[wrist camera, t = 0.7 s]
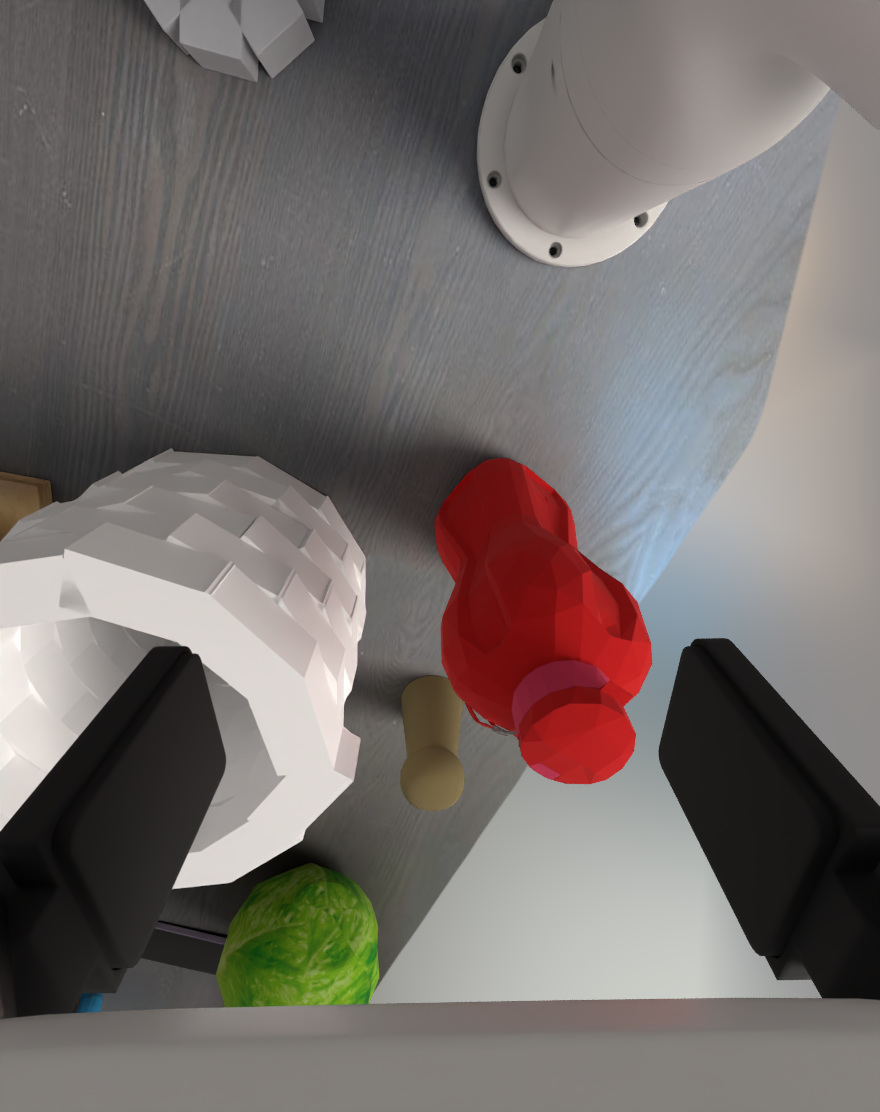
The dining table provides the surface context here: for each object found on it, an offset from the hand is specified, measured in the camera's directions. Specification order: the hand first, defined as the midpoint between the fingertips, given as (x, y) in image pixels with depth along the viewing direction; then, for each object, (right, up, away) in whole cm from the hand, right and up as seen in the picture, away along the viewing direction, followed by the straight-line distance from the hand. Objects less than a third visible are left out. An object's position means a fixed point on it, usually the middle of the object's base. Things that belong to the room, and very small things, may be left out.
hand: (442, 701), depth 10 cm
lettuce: (-15, -37, +52) cm, 65 cm away
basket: (-17, 0, +34) cm, 38 cm away
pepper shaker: (-1, -11, +40) cm, 41 cm away
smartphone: (-33, -47, +56) cm, 80 cm away
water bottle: (+4, +6, +32) cm, 33 cm away
